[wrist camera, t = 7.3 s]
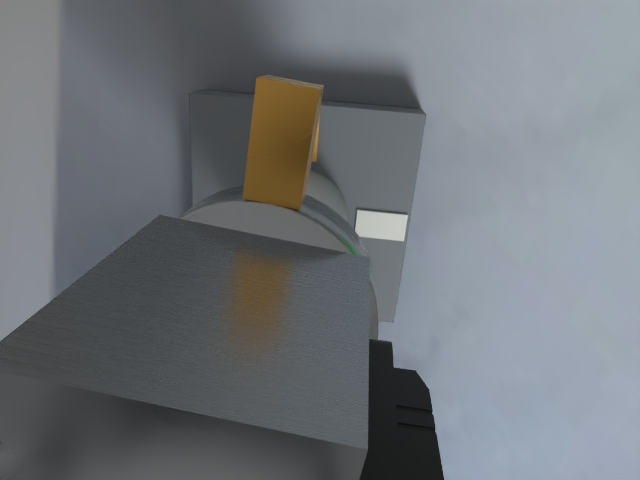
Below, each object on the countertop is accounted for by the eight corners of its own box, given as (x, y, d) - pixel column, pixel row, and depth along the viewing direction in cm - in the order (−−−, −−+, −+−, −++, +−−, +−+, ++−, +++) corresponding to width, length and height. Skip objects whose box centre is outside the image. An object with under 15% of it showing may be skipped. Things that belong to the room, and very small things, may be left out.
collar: (428, 104, 10) (518, 194, 4) (353, 399, 13) (335, 707, 7) (169, 53, 10) (-138, 65, 4) (155, 358, 13) (-31, 624, 7)
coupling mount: (392, 303, 20) (401, 425, 14) (207, 281, 21) (132, 389, 14) (422, 108, 17) (452, 147, 11) (203, 89, 17) (105, 114, 11)
